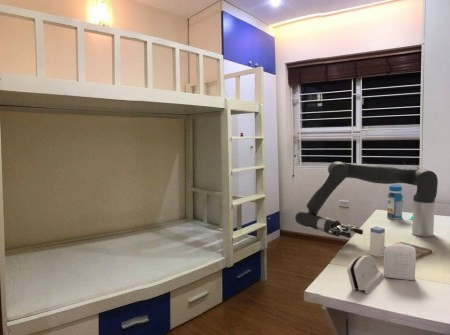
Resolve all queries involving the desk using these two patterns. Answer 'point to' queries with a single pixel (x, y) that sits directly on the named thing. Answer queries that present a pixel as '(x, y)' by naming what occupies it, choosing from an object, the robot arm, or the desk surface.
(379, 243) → the cartridge
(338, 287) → the desk surface
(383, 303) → the desk surface
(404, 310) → the desk surface
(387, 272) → the photo printer
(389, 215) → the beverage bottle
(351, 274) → the white black curved block
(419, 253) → the pad
